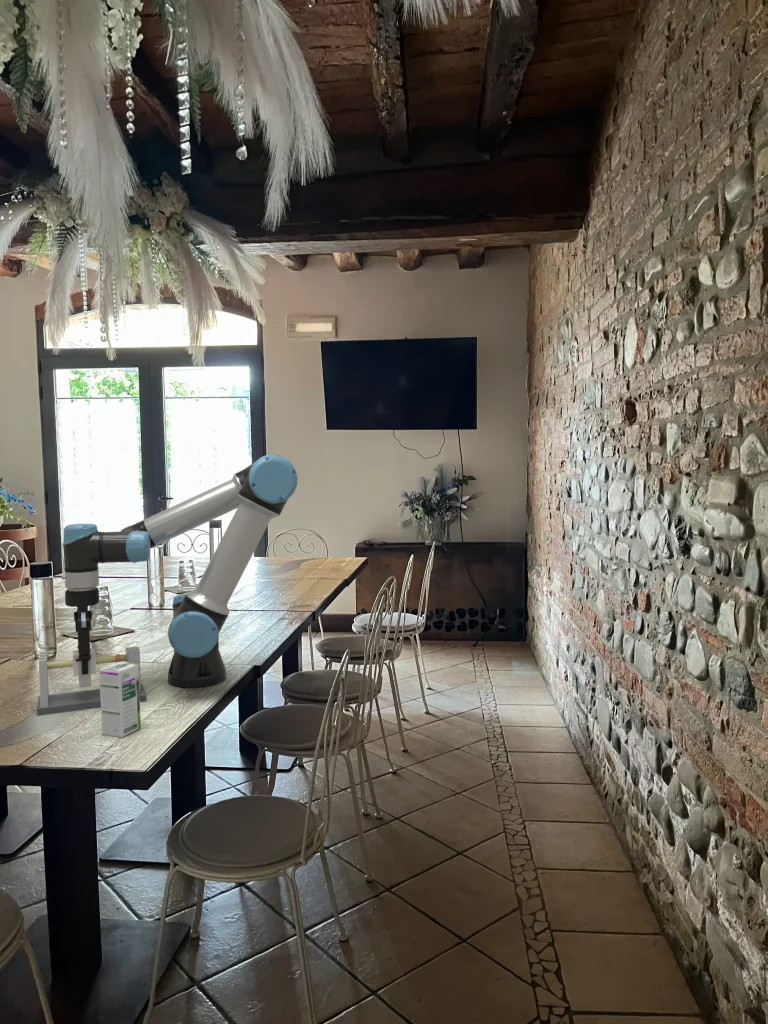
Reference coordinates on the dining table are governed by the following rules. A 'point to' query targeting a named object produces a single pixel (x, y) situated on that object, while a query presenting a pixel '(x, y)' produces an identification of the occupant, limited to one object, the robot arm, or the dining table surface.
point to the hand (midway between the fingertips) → (85, 683)
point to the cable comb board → (80, 698)
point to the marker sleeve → (75, 664)
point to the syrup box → (120, 699)
